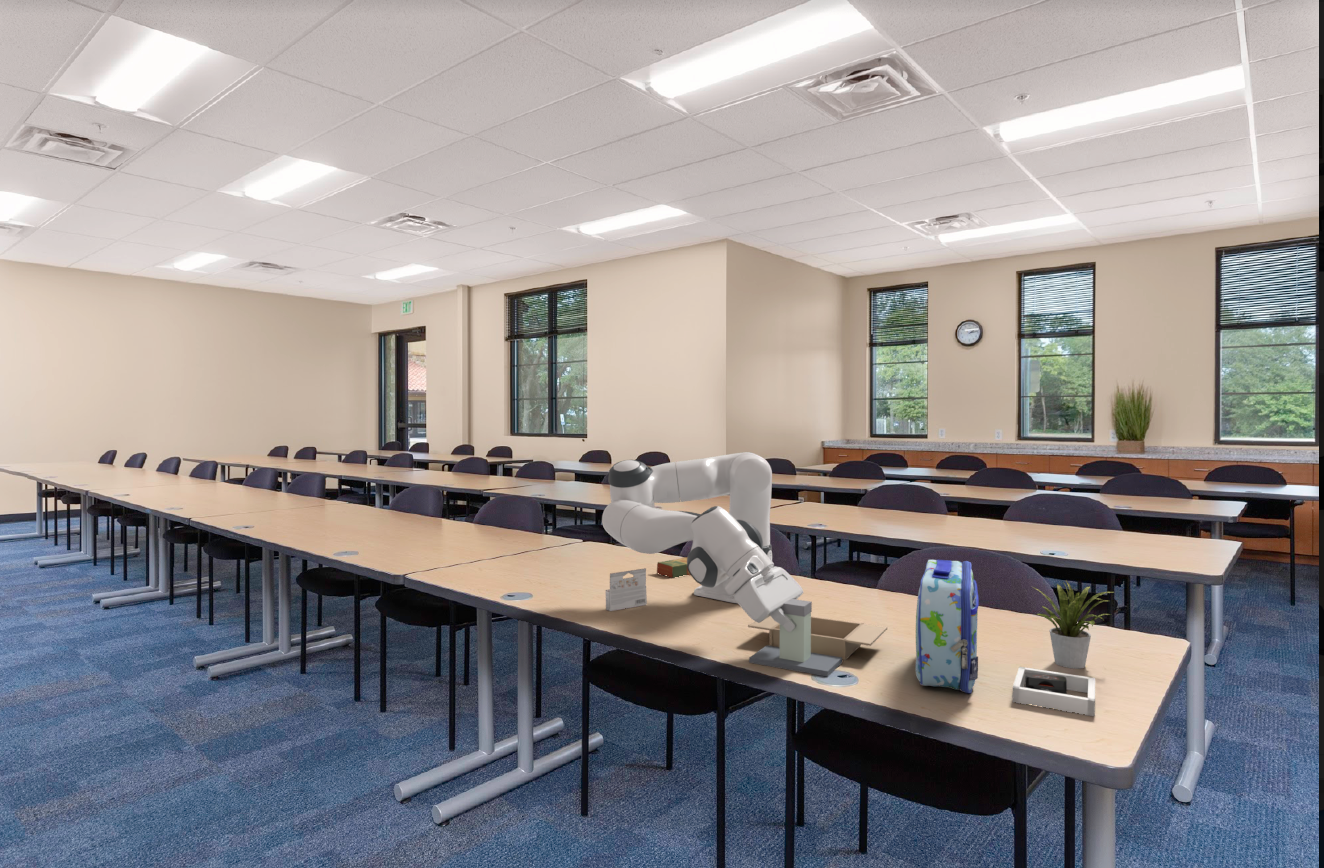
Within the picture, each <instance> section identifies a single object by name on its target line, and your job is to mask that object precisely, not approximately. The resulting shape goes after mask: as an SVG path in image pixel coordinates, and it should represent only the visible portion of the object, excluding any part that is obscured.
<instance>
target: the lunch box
mask: <svg viewBox="0 0 1324 868" xmlns="http://www.w3.org/2000/svg"><path fill="white" fill-rule="evenodd" d="M979 604H980V602H979V593H978V584H977V581H976V580H975V579H974V573H973V570H972V562H970V561H968V560H964V561H962V562H961V561H960V560H950V559H949V560H945V559H928V560H927V562H926V565H925V570H924V573H923V575H922V577H921V579H920V586H919V589H918V593H917V602H916V609H915V610H916V612H915V613H916V614H915V655H916V658H915V676H916V678H917V679H918V683H919V684H920V685H921V686H924V687H925V686H926V687H927V686H931V687H936V688H937V687H941V688H949V689H952V690H956V691H960V692H963V693H965V694H972V691H973V688H974V686H975V684H976V680H977V679H978V678H979V677H978V676H979V674H978V673H979V672H978V671H979V656H977V651H978V609H979V606H980V605H979Z"/></svg>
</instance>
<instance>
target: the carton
mask: <svg viewBox="0 0 1324 868" xmlns="http://www.w3.org/2000/svg"><path fill="white" fill-rule="evenodd" d="M657 573H659V574H661V575H660V576H663V575H667V576H669V577H668V578H670V577H672V578H671V579H676V578H675V577H678V578H680V577H679V576H683V575H689V576H691V575H690V573H689V571H688V569H687V557H683V558H676V559H671V560H670V559H669V560H665V561H658V562H657V564H656V574H657ZM659 574H658V575H659ZM683 577H684V576H683Z"/></svg>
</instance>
